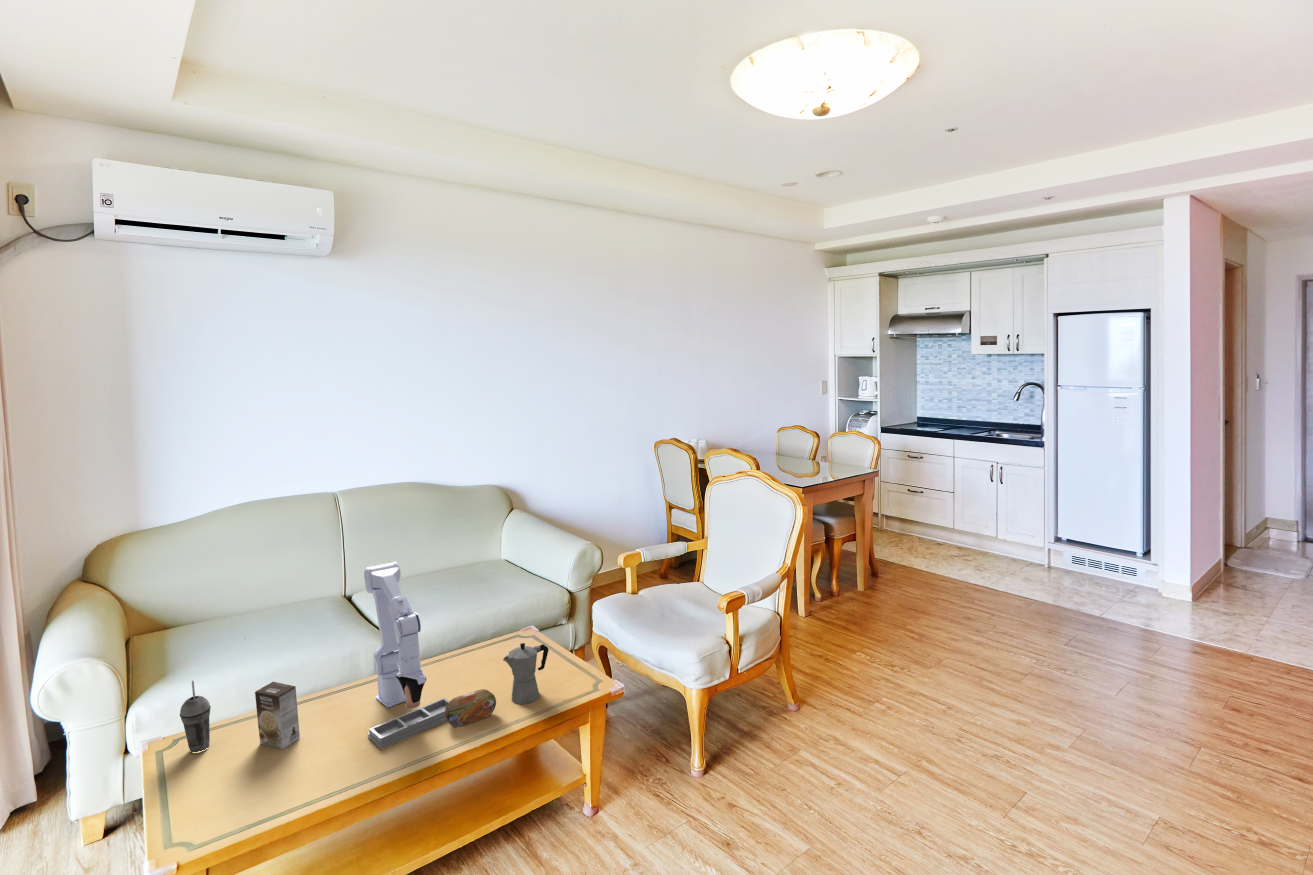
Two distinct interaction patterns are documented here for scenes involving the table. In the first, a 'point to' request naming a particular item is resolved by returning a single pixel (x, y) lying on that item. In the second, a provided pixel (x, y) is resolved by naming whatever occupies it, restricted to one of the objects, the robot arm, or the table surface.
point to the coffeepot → (525, 672)
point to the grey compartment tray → (408, 724)
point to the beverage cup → (196, 721)
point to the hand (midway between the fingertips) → (412, 698)
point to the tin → (470, 708)
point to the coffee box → (277, 715)
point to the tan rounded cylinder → (408, 699)
